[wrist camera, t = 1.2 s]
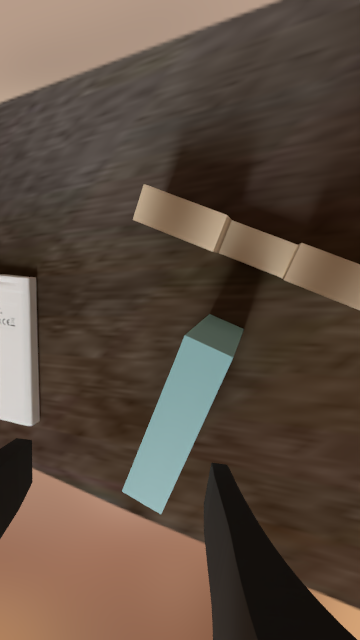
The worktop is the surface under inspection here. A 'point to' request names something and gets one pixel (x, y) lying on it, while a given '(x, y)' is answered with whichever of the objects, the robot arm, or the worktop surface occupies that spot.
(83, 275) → the worktop surface
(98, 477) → the worktop surface
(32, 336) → the external hard drive
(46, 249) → the worktop surface
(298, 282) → the birch slotted rail
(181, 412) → the teal notched block
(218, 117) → the worktop surface
